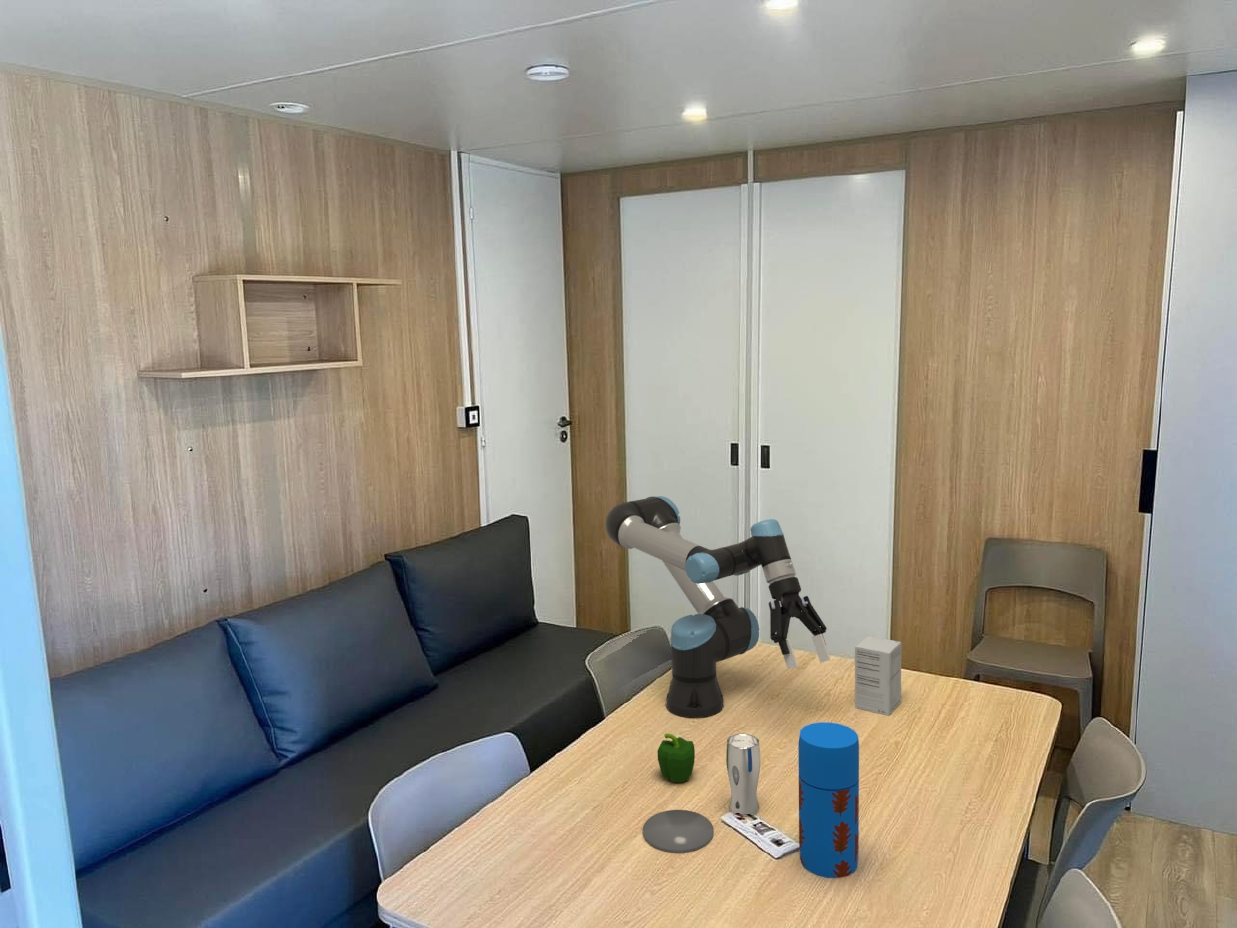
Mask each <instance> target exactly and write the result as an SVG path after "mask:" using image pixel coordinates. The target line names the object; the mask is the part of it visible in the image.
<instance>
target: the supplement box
mask: <svg viewBox="0 0 1237 928" xmlns="http://www.w3.org/2000/svg"><path fill="white" fill-rule="evenodd" d="M901 702H902V641H899V640H898V641H897V640H892V639H885V638H881V637H876V636H871V635H867V636H866V637H865V638H864V639H863V640H862V641H860V642H859V643H858V644H857V645H856V646H854V708H855V709H858V710H862V711H863V710H864V711H866V710H867V712H870V713H871V712H872V713H876V714H880V715H884V716H888V717H889V716H890V715H891V714H892V713H893V712H894V711H895V710H896V709H897V707H898V706H899V705H900V704H901Z"/></svg>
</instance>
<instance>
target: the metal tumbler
mask: <svg viewBox="0 0 1237 928" xmlns="http://www.w3.org/2000/svg"><path fill="white" fill-rule="evenodd" d="M760 750H761V749H760V740H759V738H758V737H756V736H755V735H752V734H749V733H748V734H747V733H737V734H733V735H730V736H729V737H728V738H727V739H726V753H725V754H726V755H725V757H726V759H725V760H726V762H725V763H726V770H727V776H728V781H729V785H730V793H731V794H730V801H729V811H730V812H731V813H732V812H733V814H734V813H740V814H754V815H756V814H757V813H758V812H759V810H760V806H759V801H758V795H757V794H758V793H757V792H758V783H759V780H760V779H759V778H760V772H761V751H760Z"/></svg>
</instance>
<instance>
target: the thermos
mask: <svg viewBox="0 0 1237 928" xmlns="http://www.w3.org/2000/svg"><path fill="white" fill-rule="evenodd" d="M798 737H799V738H798V743H797V744H798V746H797V747H798V749H797V750H798V753H797V754H798V755H797V756H798V845H799V860H801V861H800V863H801V864H802V866H803V867H804V869H806V870H807V871H808V872H809V871H810V873H812V874H814V875H815V876H818V877H824V878H828V879H840V878H844V877H848V876H850V875H852V874H853V873H855V871H856V870H857V869H858V863H859V844H860V842H859V839H860V838H859V837H860V836H859V835H860V834H859V833H860V832H859V831H860V830H859V827H860V826H859V825H860V821H859V817H860V815H859V813H860V809H859V808H860V799H859V798H860V795H859V794H860V741H859V734H858V733H857V732H856V731H855V730H854V729H852V728H851V727H850V726H847V725H844V724H841V723H836V722H827V721H826V722H825V721H824V722H823V721H822V722H821V721H820V722H815V723H814V722H813V723H809V724H807V725H804V726H802V728H801V729H800V730H799V735H798Z"/></svg>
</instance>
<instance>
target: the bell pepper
mask: <svg viewBox="0 0 1237 928" xmlns="http://www.w3.org/2000/svg"><path fill="white" fill-rule="evenodd" d="M664 738H665V739H666V740H664V739H662V740H661V743H660V745H659V747H658V749H657V753H656V754H657V762H658V765H659V769H660V773H661V775H662V777H664V778H665V779H666V780H671V782H673V783H684V782H687V781H688V780H689V779H690V777H691V776H692V774H693V770H694V765H695V758H696V757H695V756H696V755H695V753H696V752H695V745H694V742H693V741H691V740H686V739H684V738H683V737H680V736H679V737H677V736H675V735H674V734H672V733H665V734H664ZM667 739H671V740H667Z"/></svg>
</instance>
